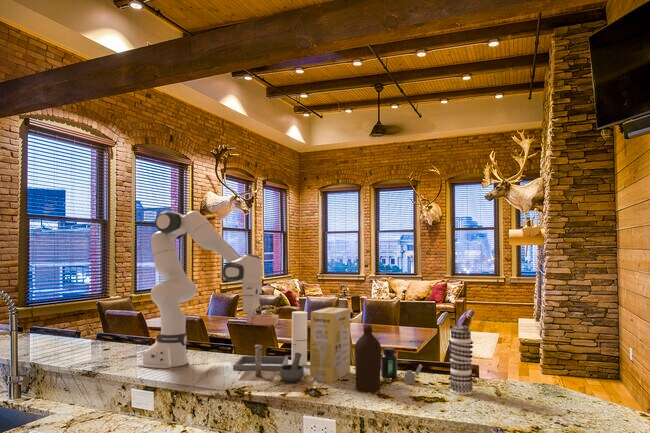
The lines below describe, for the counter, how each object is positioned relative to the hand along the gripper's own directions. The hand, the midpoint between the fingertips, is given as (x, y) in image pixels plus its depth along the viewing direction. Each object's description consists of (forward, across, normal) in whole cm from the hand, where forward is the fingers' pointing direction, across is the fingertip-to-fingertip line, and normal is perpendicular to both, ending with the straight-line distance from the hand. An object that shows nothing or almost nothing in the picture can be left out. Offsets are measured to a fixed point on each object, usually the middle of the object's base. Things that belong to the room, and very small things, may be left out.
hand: (251, 320), depth 216 cm
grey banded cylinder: (+22, +29, +88) cm, 95 cm away
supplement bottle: (+22, +10, +62) cm, 66 cm away
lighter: (+22, +20, +71) cm, 77 cm away
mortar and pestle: (+22, +24, +22) cm, 39 cm away
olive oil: (+22, +28, +52) cm, 63 cm away
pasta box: (+22, +10, +37) cm, 44 cm away
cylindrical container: (+22, -4, +22) cm, 31 cm away
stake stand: (+22, +18, +7) cm, 29 cm away
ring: (+1, 0, +5) cm, 5 cm away
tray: (+22, 0, +5) cm, 22 cm away
